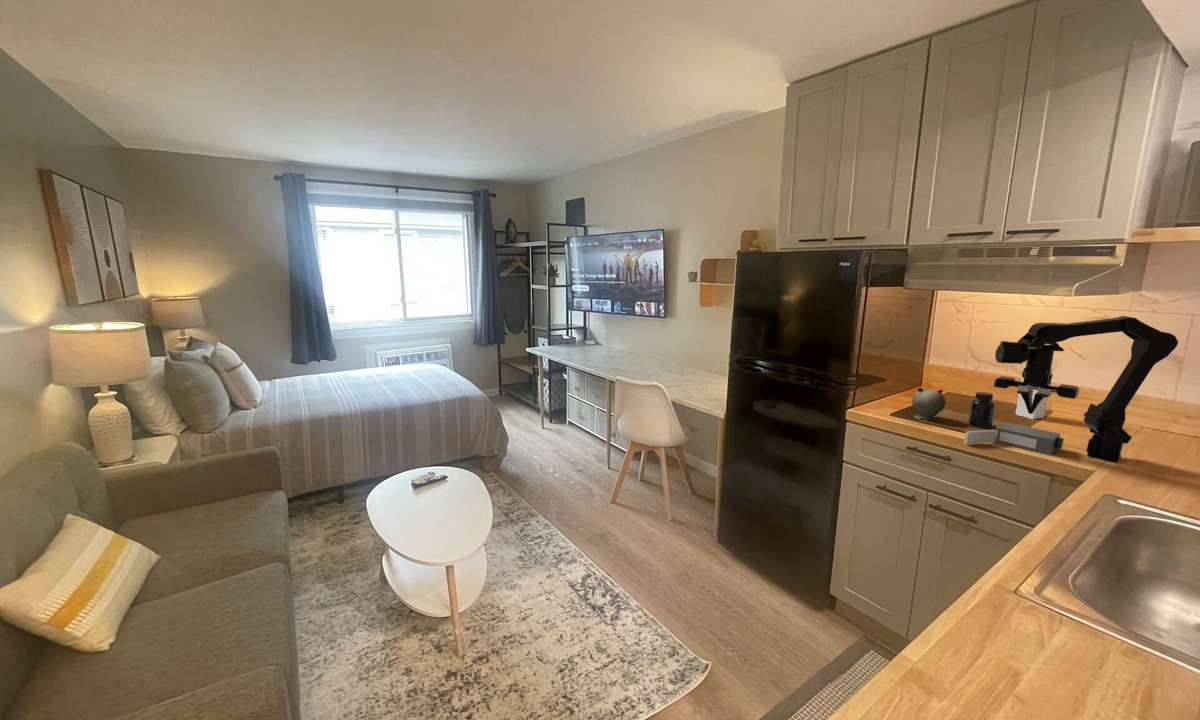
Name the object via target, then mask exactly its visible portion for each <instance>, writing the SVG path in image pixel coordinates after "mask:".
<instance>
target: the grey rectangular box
mask: <svg viewBox="0 0 1200 720" xmlns="http://www.w3.org/2000/svg"><path fill="white" fill-rule="evenodd" d="M994 430H995V431H996V432H995V438H994V442H992V444H1000V443H1001V445H1004V444H1006V445H1005V446H1008V445H1009V447H1012V448H1017V449H1021V450H1025V451H1030V452H1034V453H1038V454H1041V455H1042V454H1043V455H1046V456H1052V455H1053V454H1054V453H1055V452H1056V451H1057V450H1061V449H1062V448H1063V445H1064V437H1061V433H1059V432H1055V431H1050V430H1046V429H1040V428H1035V427H1030V426H1025V425H1020V424H1016V423H1011V422H1005V421H1003V422H1002V423H1000V424H999V425H997V426H996V427H995V429H994Z"/></svg>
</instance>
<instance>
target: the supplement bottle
mask: <svg viewBox="0 0 1200 720" xmlns="http://www.w3.org/2000/svg"><path fill="white" fill-rule="evenodd" d="M974 397H975V399H972V401H971V402H970V410H969V417H968V425H970V426H972V427H976V428H980V429H990V428H992V427H993V425H994V417H995V410H996V403H995V401H993V400H994V398H993V397H994V395H993V393H991V392H986V391H976V392H975V396H974Z"/></svg>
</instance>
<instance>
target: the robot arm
mask: <svg viewBox="0 0 1200 720" xmlns="http://www.w3.org/2000/svg"><path fill="white" fill-rule="evenodd" d="M1120 332H1121V333H1123V334H1124V335H1125V336H1126V337H1128V338H1129V339H1131V340H1132V341H1133V342H1132V345H1131V347H1130V350H1131V353H1130V354H1131V356H1130V359H1129V360H1128V362H1127V363H1126V365H1125V367H1124V369H1123V370H1122V372H1121V373H1120V375H1119V377H1118V378H1117V379H1116V381H1115V382H1114V384H1113V386H1112V387H1111V389H1110V390H1109V392H1108V393H1107V395H1106V396H1105V399H1103V401H1102V402H1100V403H1098V404H1097V405H1095V404H1094V403H1091V404H1090V405H1088V406H1089V407H1088V409H1087V410H1086V412H1085V413H1083V416H1084V418H1083V422H1084V423H1085V425H1086V426H1087V428H1088V429H1089V432H1090V433H1092V436H1091V438H1089V440H1088V443H1087V448H1086V453H1087V454H1086V456H1087V457H1091V458H1094V459H1099V460H1104V461H1109V462H1114V463H1119V462H1120V460H1121V459H1122V451H1123V447H1124V444H1128V443H1129V442H1130V441H1131V439H1132V436H1131V435H1130V434H1129V433H1128V432H1127V431H1126V430H1124V428H1123V427H1124V425H1125V423H1126V409H1127V407H1128V406H1129V404H1130V403H1131V401H1132V400H1133V398H1134V397H1135V395H1136V394H1137V391H1138V390H1139V389H1140V387H1141V385H1142V384H1143V382H1144V381H1145V380H1146V378H1147V377H1148V375H1149V373H1150V372H1151V370H1152V369H1153V368H1154V366H1155V365H1156V364H1157V363H1159V362H1160V361H1162V360H1164V359H1166V358H1167V357H1169V355H1171V354H1172V352H1173V351H1174V350H1175V349H1176V348H1177V347H1178V344H1179V339H1178V338H1177V337H1176V336H1175V335H1174V334H1172V333H1170V332H1165V331H1161V330H1159V329H1157V328H1154V327H1152V326H1150V325H1148V324H1146V323H1144V322H1142V321H1141V320H1139V319H1138V318H1136V317H1131V316H1128V315H1127V316H1126V315H1121V316H1118V317H1112V318H1111V317H1110V318H1102V319H1095V320H1086V321H1079V322H1070V323H1069V322H1067V323H1065V322H1064V323H1062V322H1061V323H1060V322H1037V323H1034V324H1032V325H1031V326H1030V327H1029V329H1028V331H1027V332H1026V333H1025V334H1024V335H1023V336H1022V337H1020V338H1019V339H1018V340H1017V341H1007V340H1001V341H1000V343H999V345H998V346H997V349H996V350H995V353H994V355H995V356H994V357H995V360H996V362H997V363H998V364H1014V365H1015V364H1017V365H1021V364H1024V363H1025V364H1026V365H1025V367H1026V368H1024V367H1023V370H1022V373H1021V378H1022V377H1023V378H1024V381H1023V382H1021V381H1019V380H1016V378H1015V377H1010V376H1003V375H1001V376H999V377H998V378H996V379H994V385H993V387H994V388H999V389H1000V388H1001V389H1006V390H1007V389H1008V388H1010V387H1013V388H1015V387H1016V388H1017V390H1016V394H1019V393H1020V394H1021V396H1022V398H1023V399H1024V401H1025V404H1026V407H1027V410H1028V413H1029V414H1032V413H1033V412H1034V411H1035V409H1036V407H1037V406H1038V404H1039V403H1040V401H1041V400H1042V399H1043V398H1044V397H1048V398H1049V397H1050V396H1051V395H1052V393H1054V394H1055V393H1056V395H1058V397H1060V398H1067V399H1073V400H1074V399H1076V398H1077V397H1078V396H1079V395H1080V388H1079V387H1078V386H1075V385H1072V384H1071V385H1070V384H1060V385H1059V386H1055V385H1052V379H1053V373H1052V374H1051V368H1052V365H1053V360H1054V353H1055V352H1064V351H1065V349H1064V348H1063V347H1061V346H1060V344H1059V343H1060V342H1064V341H1066V340H1069V339H1072V338H1076V337H1085V336H1092V335H1093V336H1095V335H1101V334H1102V335H1103V334H1111V333H1120ZM1027 385H1028V386H1027ZM1049 385H1050V386H1049ZM1031 389H1034V390H1038V392H1037V393H1036V394H1035V396H1034V400H1033V403H1032V395H1033V390H1031Z"/></svg>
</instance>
